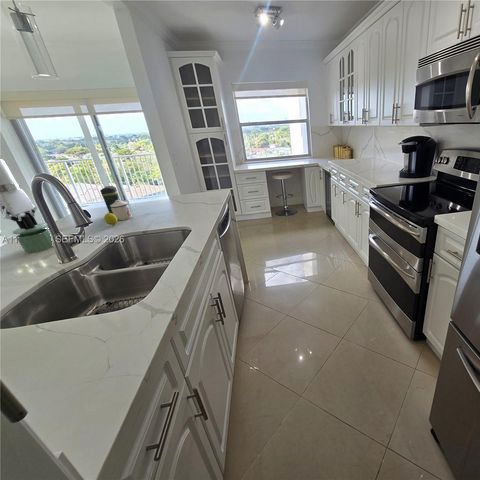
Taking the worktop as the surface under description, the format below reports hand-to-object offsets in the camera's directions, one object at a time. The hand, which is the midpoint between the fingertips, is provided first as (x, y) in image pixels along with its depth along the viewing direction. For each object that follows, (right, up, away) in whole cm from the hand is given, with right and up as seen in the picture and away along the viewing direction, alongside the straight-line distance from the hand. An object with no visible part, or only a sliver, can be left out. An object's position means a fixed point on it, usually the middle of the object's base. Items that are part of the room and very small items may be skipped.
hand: (29, 226), depth 120 cm
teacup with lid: (+12, +8, +42) cm, 45 cm away
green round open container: (+1, -11, +5) cm, 12 cm away
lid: (0, -1, +1) cm, 1 cm away
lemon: (+16, +2, +29) cm, 33 cm away
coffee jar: (+4, +10, +48) cm, 50 cm away
